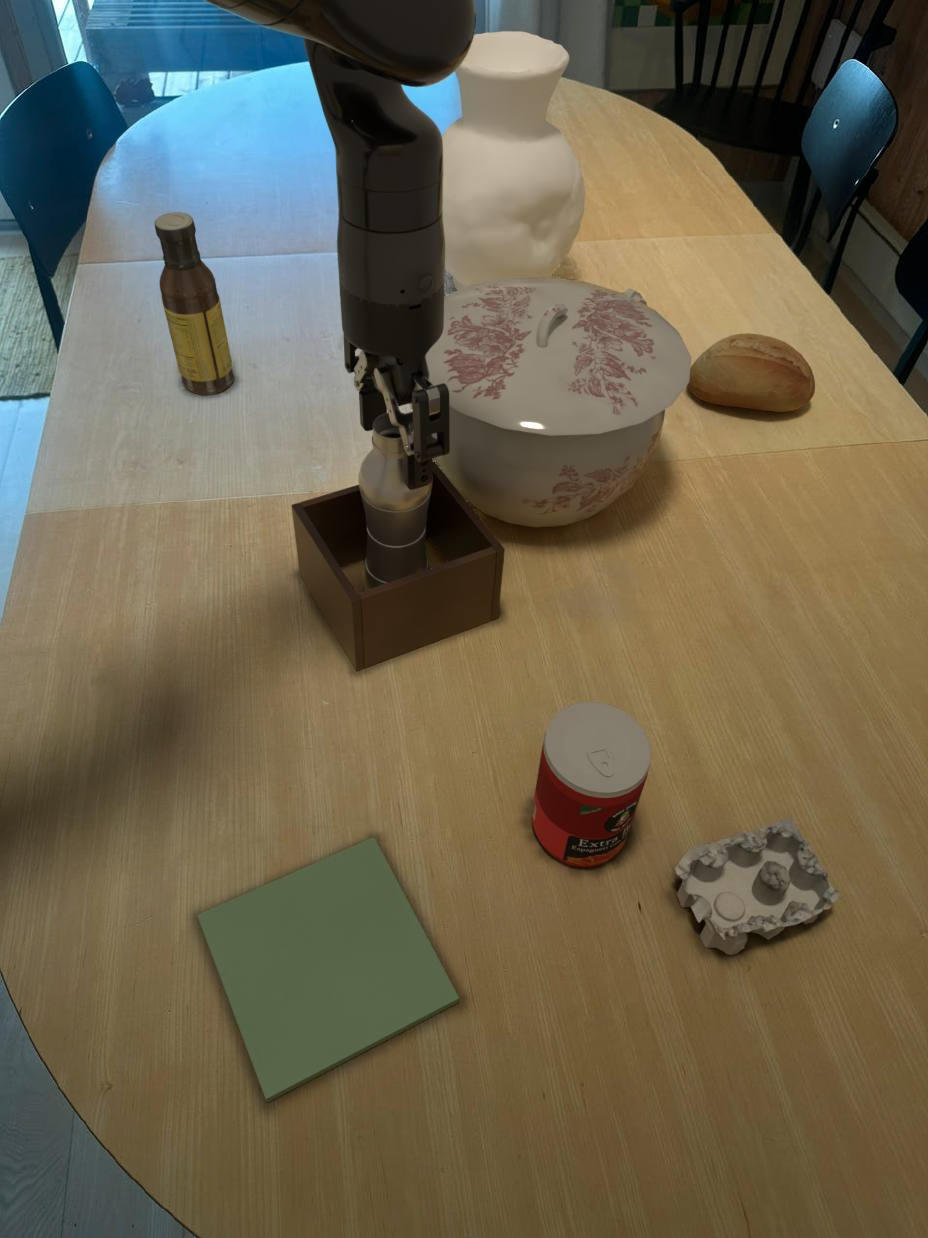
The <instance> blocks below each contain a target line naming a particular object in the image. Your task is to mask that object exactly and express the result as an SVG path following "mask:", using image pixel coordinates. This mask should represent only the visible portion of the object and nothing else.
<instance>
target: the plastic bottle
mask: <svg viewBox="0 0 928 1238" xmlns="http://www.w3.org/2000/svg"><path fill="white" fill-rule="evenodd" d="M403 413H404V414H406V412H403ZM410 429H411V433H412V436H413V438H414V435H413V422H411V423H410ZM371 446H372V449H371V450H370V451H369V452H368V453H367V454H366V456H365V457H364V458H363V461H362V462H361V465H360V468H359V472H358V475H357V478H358V479H357V480H358V481H357V482H358V485H359V488H360V492H361V497H362V501H363V505H364V510H365V516H366V525H367V534H368V537H367V553H366V559H364V563H363V570H362V583H363V586H364V589H365V590H368V589H371V588H374V587H377V586H380V585H382V584H385V583H388V582H391V581H394V580H397V579H400V578H403V577H406V576H409V575H412V574H414V573H417V572H420V571H423V570H426V569H429V568H431V564H430V561H429V558H428V553H427V552H428V550H427V539H425V531H426V519H427V509H428V504H429V499H430V494H431V489H432V482H433V475H432V482H431V483H430V484H429V485H427V486H423V487H420V488H417V489H414V490H410V489H408V487H407V486H406V485H405V483H404V445H403V441H402V438H401V434H400V431H399V428H398V427H396V426H393V425H392V424H391V421H390V418H389V414H388V412H387V413H384V414H382V415H380V416H378V417H377V418H376V419H375V420H374V422H373V430H372V437H371ZM365 590H364V591H365Z"/></svg>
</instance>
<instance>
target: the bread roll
mask: <svg viewBox="0 0 928 1238" xmlns="http://www.w3.org/2000/svg"><path fill="white" fill-rule="evenodd" d="M815 380H816V379H815V375H814V373H813V370H812V368H811V366H810V364H809V362H807V360H806V359H805V357H804V355H803V354H802V353H801V352H800V351H798V350H797V349H795V348H794V347H793V346H791V345H790V344H789V343H787V342H785V341H783V340H781V339H779V338H776V337H772V336H769V335H764V334H759V333H750V332H749V333H747V332H746V333H737V334H731V335H729V336H726V337H724V338H722V339H720V340H718V341H716V342H715V343H713V344H712V345H710V346H709V347H708V348H707V349H706V350H704V352H703V353H701V354H700V355H699V357H697V358H696V360H695V361H694V362H693V363H692V364H691V367H690V379H689V383H688V385H687V388H688V389H689V390H690V392H691V393H692V394H693V395H694V397H695V398H697V399H699V400H701V401H703V402H706V403H709V404H715V405H721V406H728V407H737V408H743V409H752V410H758V411H763V412H764V411H765V412H776V413H784V412H792V411H795V410H798V409H800V408H803V407H804V406H806V405H807V404H809V403H810V401H811V400H812V398H813V397H814V395H815V392H816V381H815Z"/></svg>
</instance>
